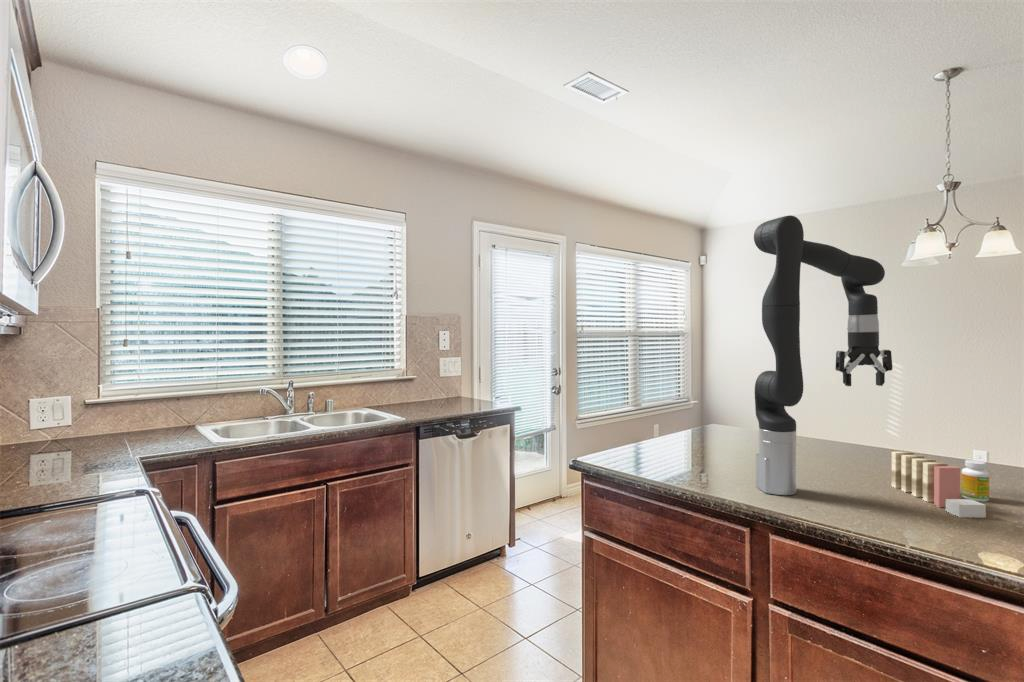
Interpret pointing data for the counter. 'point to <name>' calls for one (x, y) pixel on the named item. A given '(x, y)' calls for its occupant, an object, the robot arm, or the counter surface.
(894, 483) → the domino
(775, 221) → the robot arm
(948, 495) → the domino
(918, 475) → the domino
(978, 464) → the supplement bottle
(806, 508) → the counter surface
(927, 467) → the domino
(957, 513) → the block
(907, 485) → the domino
